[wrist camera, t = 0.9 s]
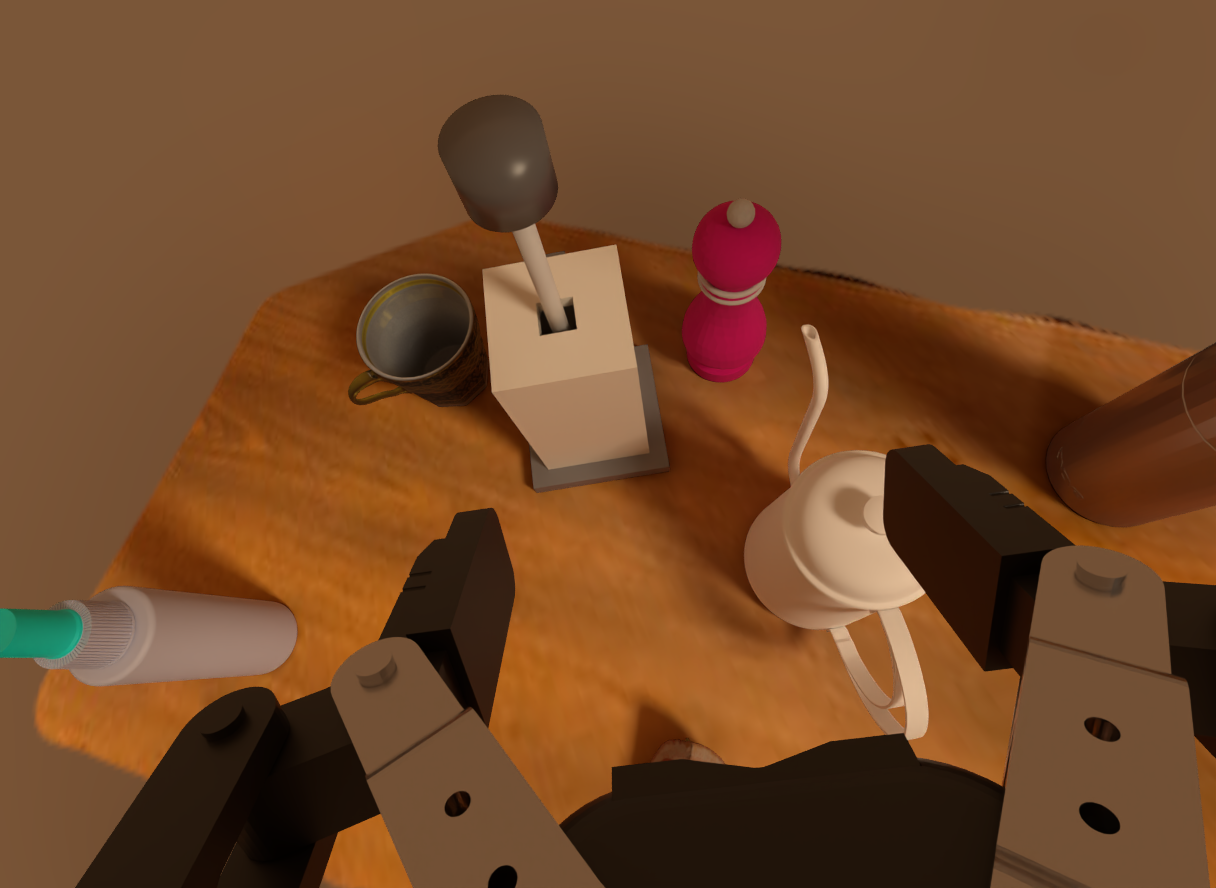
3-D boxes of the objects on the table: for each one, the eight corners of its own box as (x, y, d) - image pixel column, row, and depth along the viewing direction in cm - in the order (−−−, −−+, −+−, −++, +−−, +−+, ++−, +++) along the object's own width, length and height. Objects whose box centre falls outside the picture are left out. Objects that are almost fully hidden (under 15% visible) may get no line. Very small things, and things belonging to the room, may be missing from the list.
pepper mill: (687, 315, 57) (692, 154, 39) (763, 322, 56) (806, 160, 37) (676, 383, 55) (676, 247, 36) (755, 392, 54) (797, 257, 35)
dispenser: (646, 342, 57) (633, 209, 39) (669, 471, 53) (666, 385, 35) (524, 364, 58) (458, 242, 40) (537, 492, 53) (469, 419, 36)
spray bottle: (305, 601, 52) (63, 573, 32) (294, 674, 51) (28, 695, 30) (241, 602, 53) (-37, 574, 32) (228, 674, 51) (-78, 694, 30)
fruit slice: (651, 724, 46) (649, 733, 42) (738, 743, 45) (745, 755, 41) (632, 845, 44) (627, 869, 39) (724, 869, 43) (730, 897, 38)
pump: (598, 330, 44) (537, 85, 25) (606, 383, 43) (548, 167, 23) (540, 341, 44) (435, 106, 25) (546, 394, 43) (440, 188, 24)
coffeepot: (828, 404, 53) (904, 284, 35) (927, 705, 45) (1092, 745, 27) (708, 429, 53) (723, 323, 36) (784, 731, 45) (853, 787, 27)
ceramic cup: (462, 313, 60) (422, 252, 51) (527, 373, 57) (498, 319, 48) (364, 401, 58) (304, 354, 49) (427, 467, 55) (375, 431, 46)
